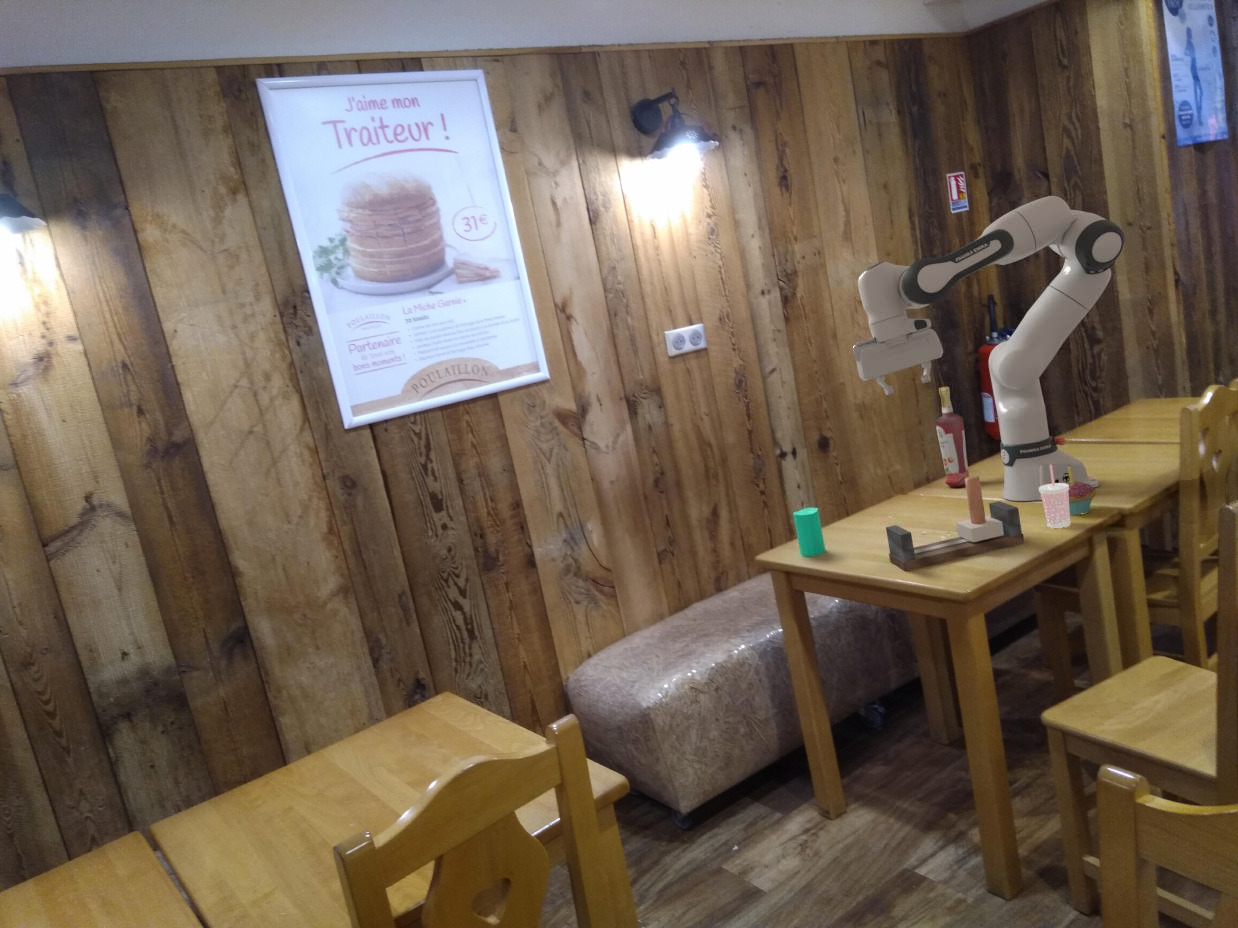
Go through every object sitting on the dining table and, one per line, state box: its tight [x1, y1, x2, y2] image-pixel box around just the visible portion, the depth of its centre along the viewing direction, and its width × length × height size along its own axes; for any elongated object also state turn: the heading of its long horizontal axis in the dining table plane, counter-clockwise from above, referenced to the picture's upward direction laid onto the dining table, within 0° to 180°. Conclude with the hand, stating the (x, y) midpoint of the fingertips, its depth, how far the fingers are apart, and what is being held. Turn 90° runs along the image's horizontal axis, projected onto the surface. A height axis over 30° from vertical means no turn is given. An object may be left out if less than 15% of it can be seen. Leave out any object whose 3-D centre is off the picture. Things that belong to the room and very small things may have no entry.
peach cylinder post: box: [955, 475, 1004, 542], centre depth 196 cm, size 7×7×13 cm
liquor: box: [934, 386, 970, 489], centre depth 250 cm, size 7×7×28 cm
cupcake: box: [1066, 464, 1096, 514], centre depth 206 cm, size 9×8×12 cm
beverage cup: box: [1039, 464, 1071, 529], centre depth 199 cm, size 6×6×14 cm
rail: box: [885, 500, 1025, 572], centre depth 196 cm, size 27×8×8 cm, turn 95°
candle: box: [793, 504, 826, 557], centre depth 218 cm, size 6×6×12 cm
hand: (908, 388), depth 212 cm, fingers open, 8 cm apart
